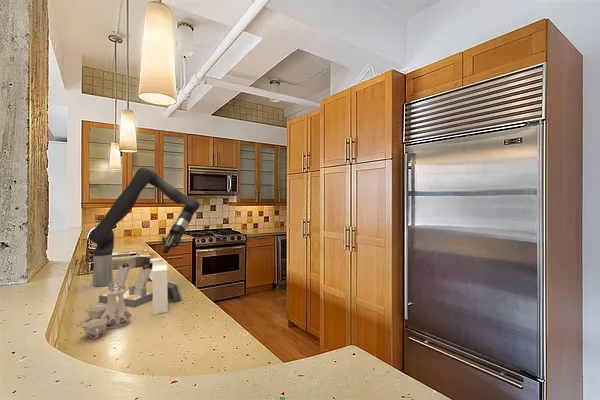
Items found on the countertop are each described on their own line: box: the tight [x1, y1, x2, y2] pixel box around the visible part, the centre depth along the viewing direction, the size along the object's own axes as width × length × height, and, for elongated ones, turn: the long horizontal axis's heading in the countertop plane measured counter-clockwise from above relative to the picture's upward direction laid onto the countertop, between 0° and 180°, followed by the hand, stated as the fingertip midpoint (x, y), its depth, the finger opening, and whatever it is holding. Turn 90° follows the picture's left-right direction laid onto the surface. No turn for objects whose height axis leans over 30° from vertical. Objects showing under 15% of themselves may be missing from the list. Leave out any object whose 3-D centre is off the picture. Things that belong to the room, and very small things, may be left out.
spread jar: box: [147, 257, 163, 281], centre depth 195 cm, size 12×11×12 cm
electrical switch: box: [167, 280, 183, 303], centre depth 156 cm, size 9×5×9 cm, turn 57°
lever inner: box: [113, 262, 131, 287], centre depth 160 cm, size 5×3×14 cm, turn 72°
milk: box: [151, 260, 169, 315], centre depth 141 cm, size 6×6×22 cm
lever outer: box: [133, 264, 151, 294], centre depth 156 cm, size 5×3×14 cm, turn 72°
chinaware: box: [80, 284, 132, 340], centre depth 125 cm, size 28×17×17 cm, turn 35°
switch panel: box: [98, 282, 153, 308], centre depth 155 cm, size 22×12×7 cm, turn 72°
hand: (164, 252), depth 171 cm, fingers closed
